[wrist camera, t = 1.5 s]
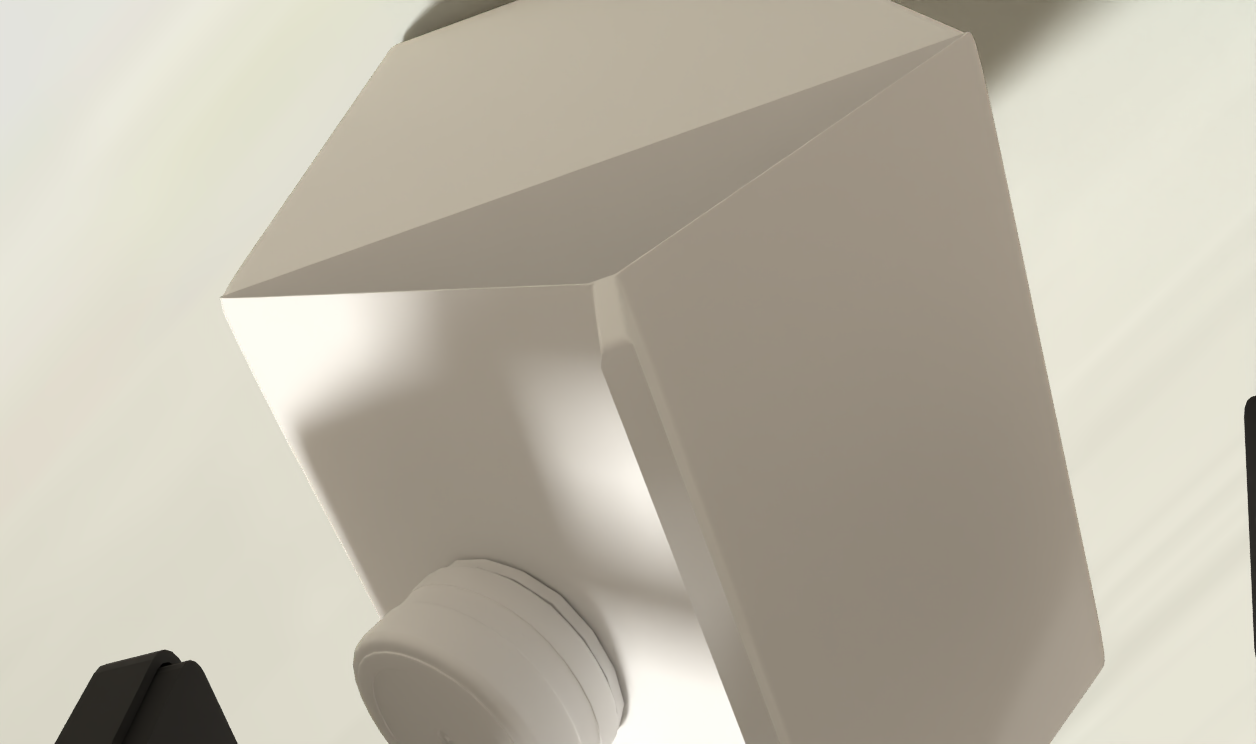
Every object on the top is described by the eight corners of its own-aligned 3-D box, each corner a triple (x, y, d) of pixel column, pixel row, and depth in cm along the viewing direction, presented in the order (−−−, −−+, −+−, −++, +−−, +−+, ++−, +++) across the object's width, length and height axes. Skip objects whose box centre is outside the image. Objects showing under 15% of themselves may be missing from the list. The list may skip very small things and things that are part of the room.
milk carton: (721, -77, 24) (1226, 131, 7) (813, 244, 27) (1336, 981, 9) (389, 44, 24) (35, 541, 7) (514, 347, 27) (485, 1233, 10)
